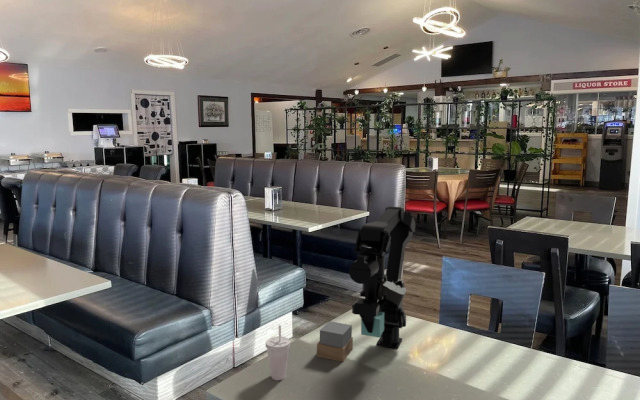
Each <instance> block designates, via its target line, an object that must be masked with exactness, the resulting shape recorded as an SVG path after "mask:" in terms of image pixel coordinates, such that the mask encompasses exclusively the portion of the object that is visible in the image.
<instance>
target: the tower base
mask: <svg viewBox="0 0 640 400" xmlns="http://www.w3.org/2000/svg"><path fill="white" fill-rule="evenodd" d="M353 341H354V337H353V336H352V338H351V339H350V341H349V342H348V343H347V344H346V345H345V346H344V347H343V348H339V347H334V346H329V345H325V344H320V340H319V341H318V342H317V343H316V357H318V358H322V357H323V359H327V360H328V359H329V360H333V361H338V362H343V363H344V361H345V360H346V359H347V357H348V356H349V355H350V353H351V352H353V348H354V347H353V346H354V342H353Z"/></svg>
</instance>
